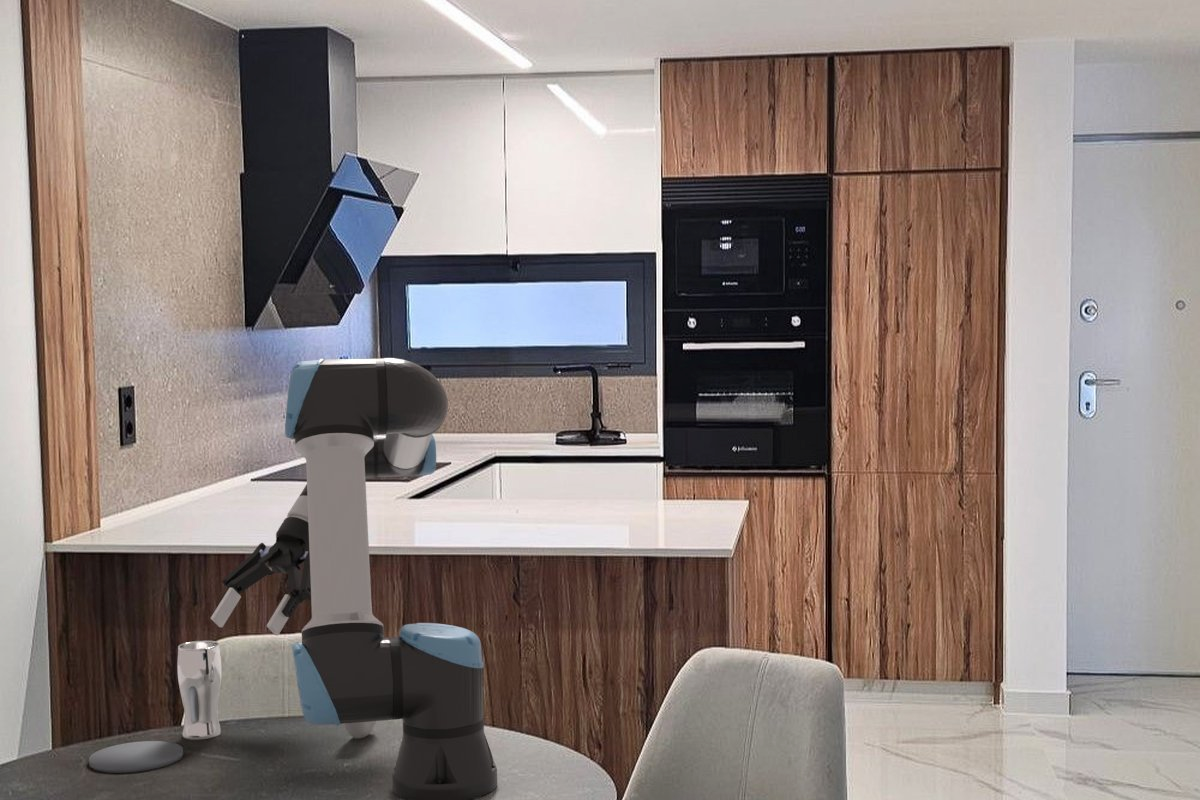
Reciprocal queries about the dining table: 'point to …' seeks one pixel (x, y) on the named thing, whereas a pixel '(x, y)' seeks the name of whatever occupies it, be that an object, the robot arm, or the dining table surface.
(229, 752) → the dining table surface
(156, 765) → the mat
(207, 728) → the beer glass
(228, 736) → the dining table surface
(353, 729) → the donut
